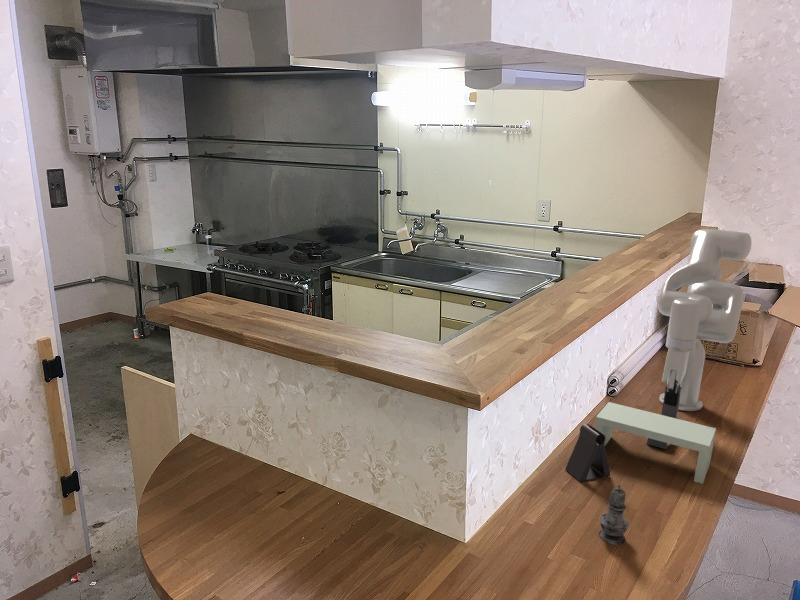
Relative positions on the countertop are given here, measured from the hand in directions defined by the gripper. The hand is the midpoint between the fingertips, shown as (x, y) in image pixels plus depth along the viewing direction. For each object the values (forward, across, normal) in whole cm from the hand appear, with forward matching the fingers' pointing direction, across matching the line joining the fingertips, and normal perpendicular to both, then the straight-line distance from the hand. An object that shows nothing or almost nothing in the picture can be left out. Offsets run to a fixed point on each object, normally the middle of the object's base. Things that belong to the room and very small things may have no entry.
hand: (671, 402), depth 185 cm
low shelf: (+7, +23, 0) cm, 24 cm away
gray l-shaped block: (+7, +7, 0) cm, 10 cm away
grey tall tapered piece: (+7, +64, +1) cm, 65 cm away
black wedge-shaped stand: (+7, +41, -11) cm, 43 cm away
